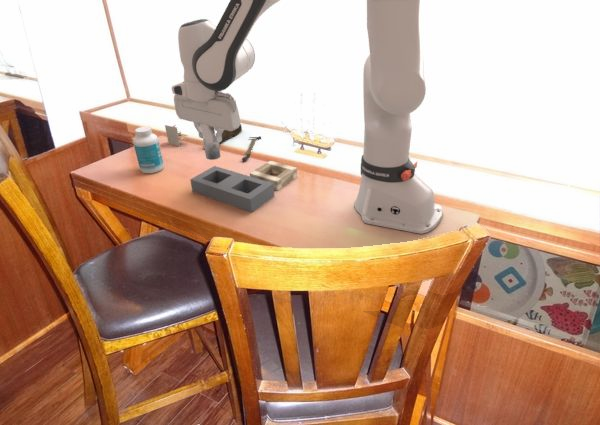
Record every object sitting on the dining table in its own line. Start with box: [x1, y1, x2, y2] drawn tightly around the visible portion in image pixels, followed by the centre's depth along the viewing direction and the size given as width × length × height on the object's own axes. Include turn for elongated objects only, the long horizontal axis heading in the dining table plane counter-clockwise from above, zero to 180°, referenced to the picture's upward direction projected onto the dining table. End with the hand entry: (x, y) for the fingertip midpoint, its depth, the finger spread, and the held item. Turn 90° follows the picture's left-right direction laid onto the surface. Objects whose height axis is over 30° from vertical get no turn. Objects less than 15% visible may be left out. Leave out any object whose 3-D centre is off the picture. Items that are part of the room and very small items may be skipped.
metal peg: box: [201, 124, 221, 161], centre depth 118 cm, size 4×4×10 cm
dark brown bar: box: [219, 123, 243, 144], centre depth 157 cm, size 19×4×5 cm, turn 146°
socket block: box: [249, 160, 298, 191], centre depth 130 cm, size 10×10×3 cm
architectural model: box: [164, 124, 189, 147], centre depth 154 cm, size 3×7×7 cm, turn 59°
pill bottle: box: [132, 126, 165, 174], centre depth 136 cm, size 8×7×14 cm
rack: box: [189, 165, 275, 213], centre depth 123 cm, size 22×10×4 cm, turn 56°
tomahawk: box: [241, 136, 262, 162], centre depth 150 cm, size 21×7×1 cm, turn 173°
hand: (210, 139), depth 118 cm, fingers closed on metal peg, 4 cm apart
